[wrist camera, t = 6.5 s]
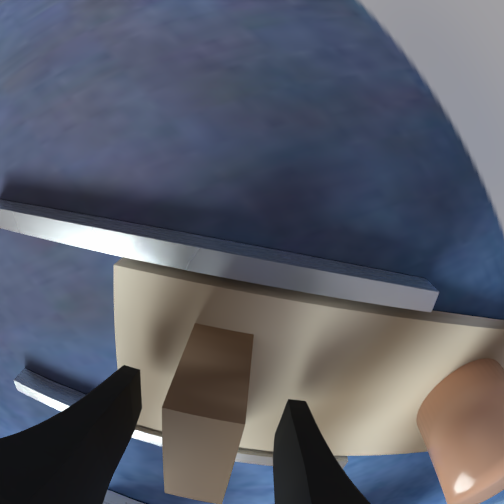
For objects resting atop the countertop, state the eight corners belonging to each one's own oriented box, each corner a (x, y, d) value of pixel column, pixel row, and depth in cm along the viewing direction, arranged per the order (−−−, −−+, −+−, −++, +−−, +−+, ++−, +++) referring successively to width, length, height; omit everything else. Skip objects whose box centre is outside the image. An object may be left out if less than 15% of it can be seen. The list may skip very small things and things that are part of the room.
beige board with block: (530, 323, 11) (585, 377, 6) (461, 434, 14) (489, 493, 9) (125, 255, 11) (46, 324, 6) (130, 406, 13) (93, 484, 9)
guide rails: (425, 278, 11) (439, 292, 10) (339, 452, 14) (342, 469, 13) (-2, 199, 11) (-20, 205, 9) (27, 378, 14) (17, 389, 13)
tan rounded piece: (517, 358, 11) (568, 421, 6) (469, 430, 12) (501, 495, 7) (448, 357, 11) (504, 444, 6) (398, 437, 12) (425, 519, 7)
